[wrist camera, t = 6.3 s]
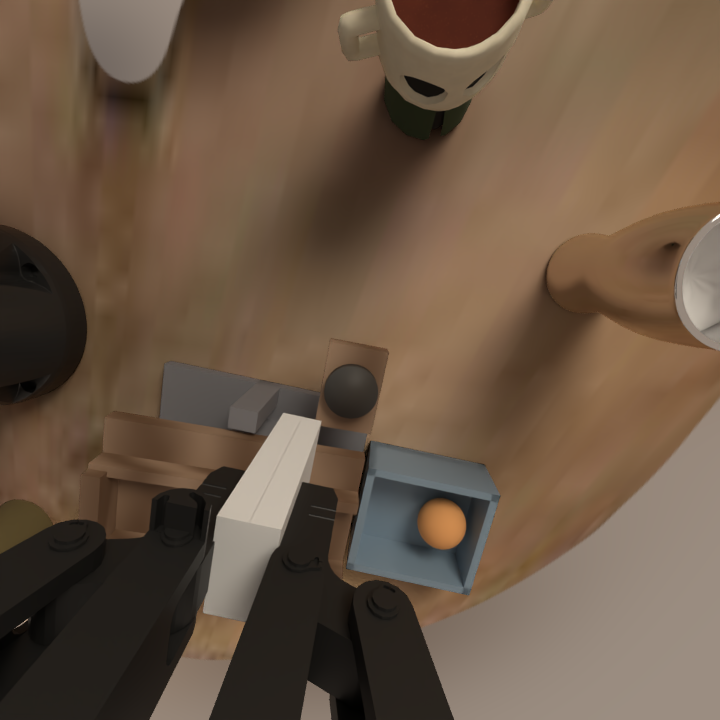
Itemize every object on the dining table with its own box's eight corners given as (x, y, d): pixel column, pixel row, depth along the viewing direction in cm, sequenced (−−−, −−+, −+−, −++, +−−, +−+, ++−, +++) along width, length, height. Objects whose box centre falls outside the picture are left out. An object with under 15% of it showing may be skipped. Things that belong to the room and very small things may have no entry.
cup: (351, 530, 38) (345, 568, 33) (370, 440, 36) (368, 467, 31) (458, 553, 38) (469, 595, 33) (484, 464, 36) (500, 495, 31)
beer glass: (603, 331, 32) (781, 382, 18) (523, 298, 32) (638, 323, 18) (649, 248, 31) (886, 229, 16) (566, 212, 31) (731, 161, 16)
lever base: (155, 519, 39) (106, 573, 32) (170, 360, 35) (119, 382, 28) (339, 559, 39) (329, 622, 32) (373, 403, 35) (370, 436, 28)
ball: (444, 527, 37) (405, 528, 35) (455, 488, 36) (415, 488, 34) (468, 559, 33) (425, 562, 32) (481, 516, 32) (438, 518, 31)
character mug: (362, 163, 31) (347, 88, 18) (344, 58, 29) (314, -101, 17) (508, 130, 30) (600, 27, 17) (496, 20, 28) (587, -181, 16)
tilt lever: (119, 537, 33) (75, 591, 28) (136, 296, 29) (87, 304, 23) (335, 567, 35) (333, 624, 29) (384, 343, 30) (393, 361, 25)
